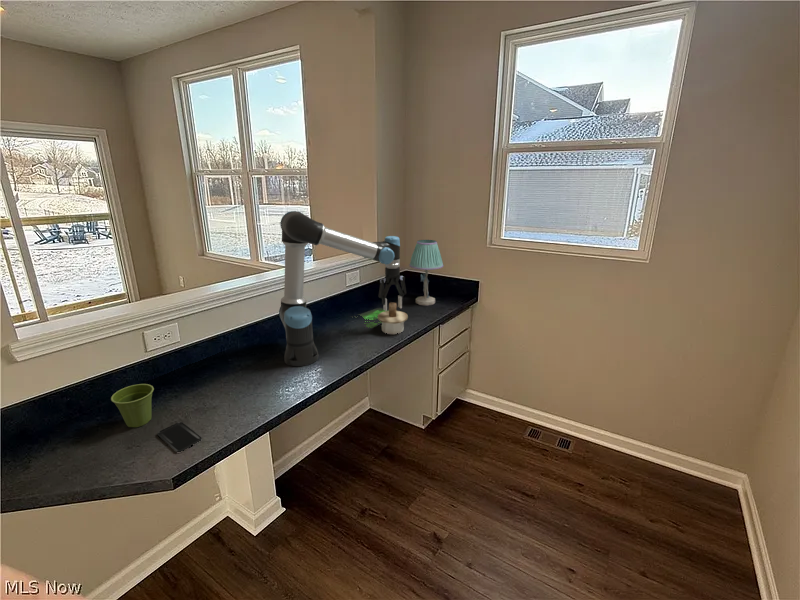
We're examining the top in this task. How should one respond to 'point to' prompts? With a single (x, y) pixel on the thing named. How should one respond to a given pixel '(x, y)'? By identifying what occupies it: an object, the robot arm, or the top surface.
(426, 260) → the table lamp
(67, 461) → the top surface
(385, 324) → the cup
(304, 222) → the robot arm
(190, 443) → the phone
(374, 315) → the mouse mat
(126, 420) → the plant pot
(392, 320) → the lid
